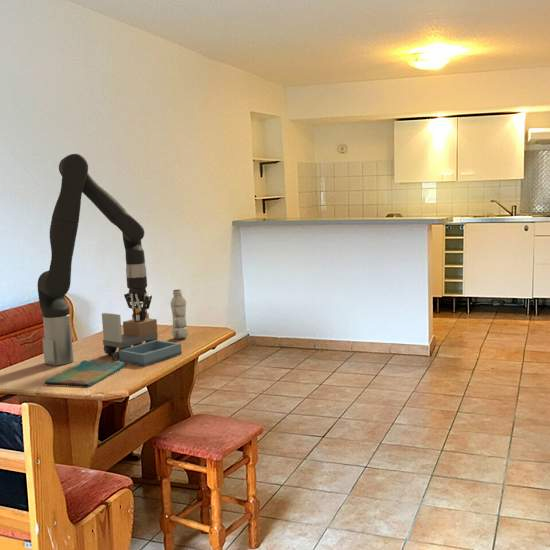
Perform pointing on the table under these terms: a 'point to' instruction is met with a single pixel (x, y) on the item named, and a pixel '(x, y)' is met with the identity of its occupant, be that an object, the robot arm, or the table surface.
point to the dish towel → (86, 373)
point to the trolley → (126, 333)
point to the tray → (150, 352)
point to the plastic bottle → (179, 315)
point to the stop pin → (137, 314)
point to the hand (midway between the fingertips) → (139, 319)
